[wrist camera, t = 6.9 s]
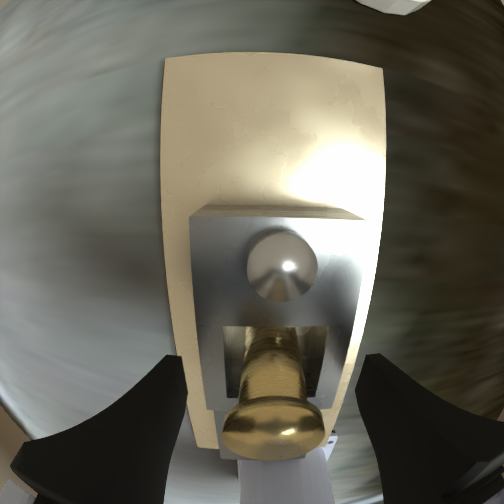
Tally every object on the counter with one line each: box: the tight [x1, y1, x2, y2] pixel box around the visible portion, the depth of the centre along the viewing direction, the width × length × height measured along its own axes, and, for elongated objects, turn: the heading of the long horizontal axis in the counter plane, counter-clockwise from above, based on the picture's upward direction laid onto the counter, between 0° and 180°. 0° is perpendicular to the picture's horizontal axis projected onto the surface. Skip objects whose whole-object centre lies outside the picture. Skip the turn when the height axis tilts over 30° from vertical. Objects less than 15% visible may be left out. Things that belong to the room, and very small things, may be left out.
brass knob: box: [222, 327, 325, 461], centre depth 10 cm, size 3×3×7 cm
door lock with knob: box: [160, 52, 386, 460], centre depth 12 cm, size 25×10×5 cm, turn 179°
